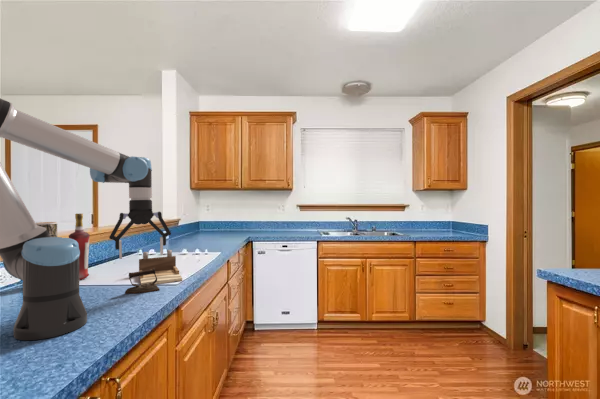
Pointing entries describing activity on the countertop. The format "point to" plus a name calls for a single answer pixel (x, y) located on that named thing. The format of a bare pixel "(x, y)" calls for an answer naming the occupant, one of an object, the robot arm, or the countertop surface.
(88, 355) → the countertop surface
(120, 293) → the countertop surface
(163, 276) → the cradle
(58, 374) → the countertop surface
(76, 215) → the liquor
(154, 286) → the clothes iron
